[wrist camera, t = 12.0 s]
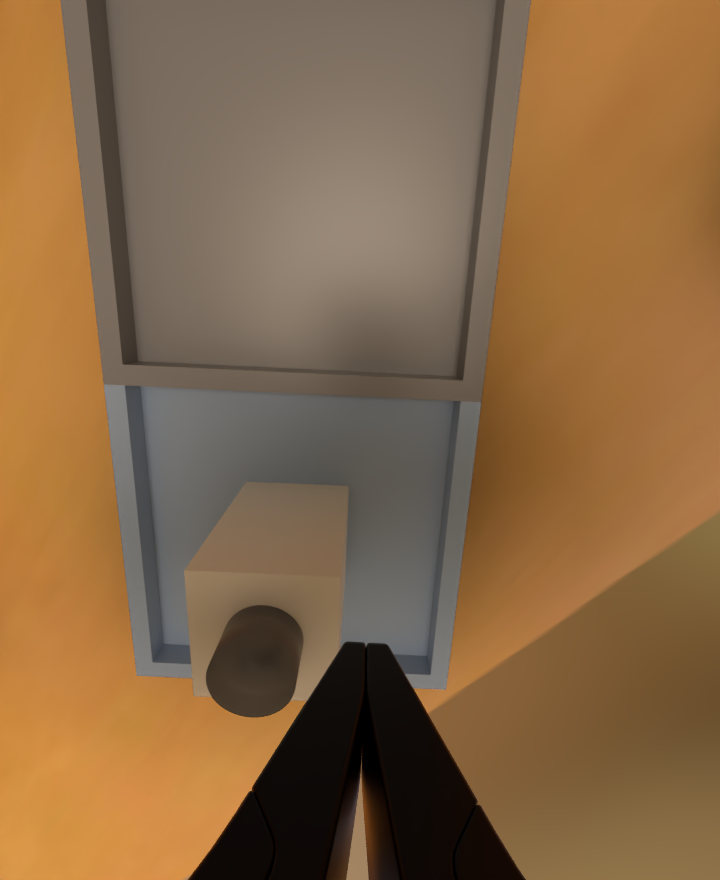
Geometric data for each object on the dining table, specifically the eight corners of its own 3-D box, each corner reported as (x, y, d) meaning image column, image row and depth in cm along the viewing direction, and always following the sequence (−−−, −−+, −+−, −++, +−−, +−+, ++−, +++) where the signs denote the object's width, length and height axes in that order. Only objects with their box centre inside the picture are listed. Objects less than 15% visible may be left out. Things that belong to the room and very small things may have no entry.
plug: (348, 485, 20) (337, 613, 11) (345, 575, 21) (332, 749, 12) (246, 481, 19) (159, 605, 11) (249, 571, 21) (172, 743, 12)
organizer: (522, -41, 15) (540, -82, 13) (440, 664, 23) (446, 689, 21) (81, -64, 15) (48, -107, 13) (152, 650, 22) (136, 675, 21)
